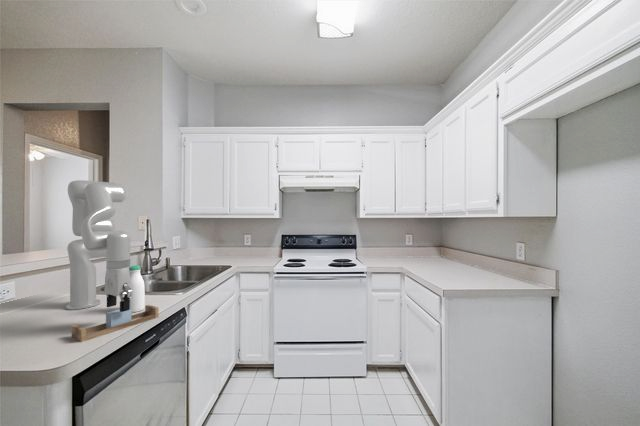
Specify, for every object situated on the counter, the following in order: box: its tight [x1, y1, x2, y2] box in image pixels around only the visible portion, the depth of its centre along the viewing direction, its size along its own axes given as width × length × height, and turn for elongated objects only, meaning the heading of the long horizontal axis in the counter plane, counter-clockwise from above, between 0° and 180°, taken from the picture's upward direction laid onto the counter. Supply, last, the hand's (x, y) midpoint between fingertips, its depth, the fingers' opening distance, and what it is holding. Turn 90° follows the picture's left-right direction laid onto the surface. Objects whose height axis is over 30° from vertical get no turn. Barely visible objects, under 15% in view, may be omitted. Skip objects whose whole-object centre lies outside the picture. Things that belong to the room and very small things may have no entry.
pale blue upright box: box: [105, 308, 132, 329], centre depth 109 cm, size 4×7×6 cm, turn 150°
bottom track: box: [71, 304, 160, 343], centre depth 109 cm, size 8×26×4 cm, turn 151°
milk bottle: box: [123, 264, 146, 314], centre depth 127 cm, size 8×8×20 cm
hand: (118, 308), depth 110 cm, fingers open, 9 cm apart
